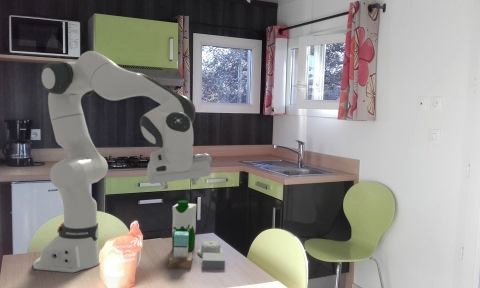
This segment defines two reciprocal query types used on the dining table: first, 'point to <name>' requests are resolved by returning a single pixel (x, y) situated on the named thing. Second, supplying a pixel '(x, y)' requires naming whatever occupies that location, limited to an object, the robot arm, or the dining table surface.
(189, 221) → the milk carton
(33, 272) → the dining table surface
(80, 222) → the robot arm
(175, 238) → the block
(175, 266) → the walnut stand
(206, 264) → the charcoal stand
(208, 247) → the mechanical component
